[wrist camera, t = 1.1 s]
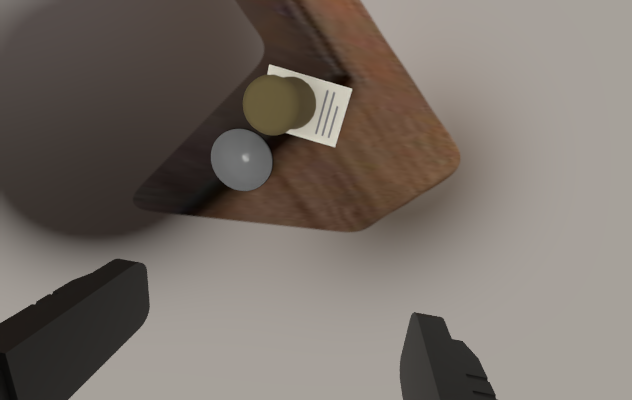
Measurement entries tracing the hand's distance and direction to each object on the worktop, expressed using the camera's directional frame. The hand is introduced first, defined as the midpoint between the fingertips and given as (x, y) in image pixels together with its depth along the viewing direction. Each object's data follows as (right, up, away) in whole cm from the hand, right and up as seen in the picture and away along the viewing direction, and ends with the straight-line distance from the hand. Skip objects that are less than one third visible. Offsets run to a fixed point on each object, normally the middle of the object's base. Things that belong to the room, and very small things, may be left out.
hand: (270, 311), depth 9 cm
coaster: (-8, +8, +30) cm, 32 cm away
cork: (-2, +15, +27) cm, 31 cm away
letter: (0, +14, +27) cm, 30 cm away
